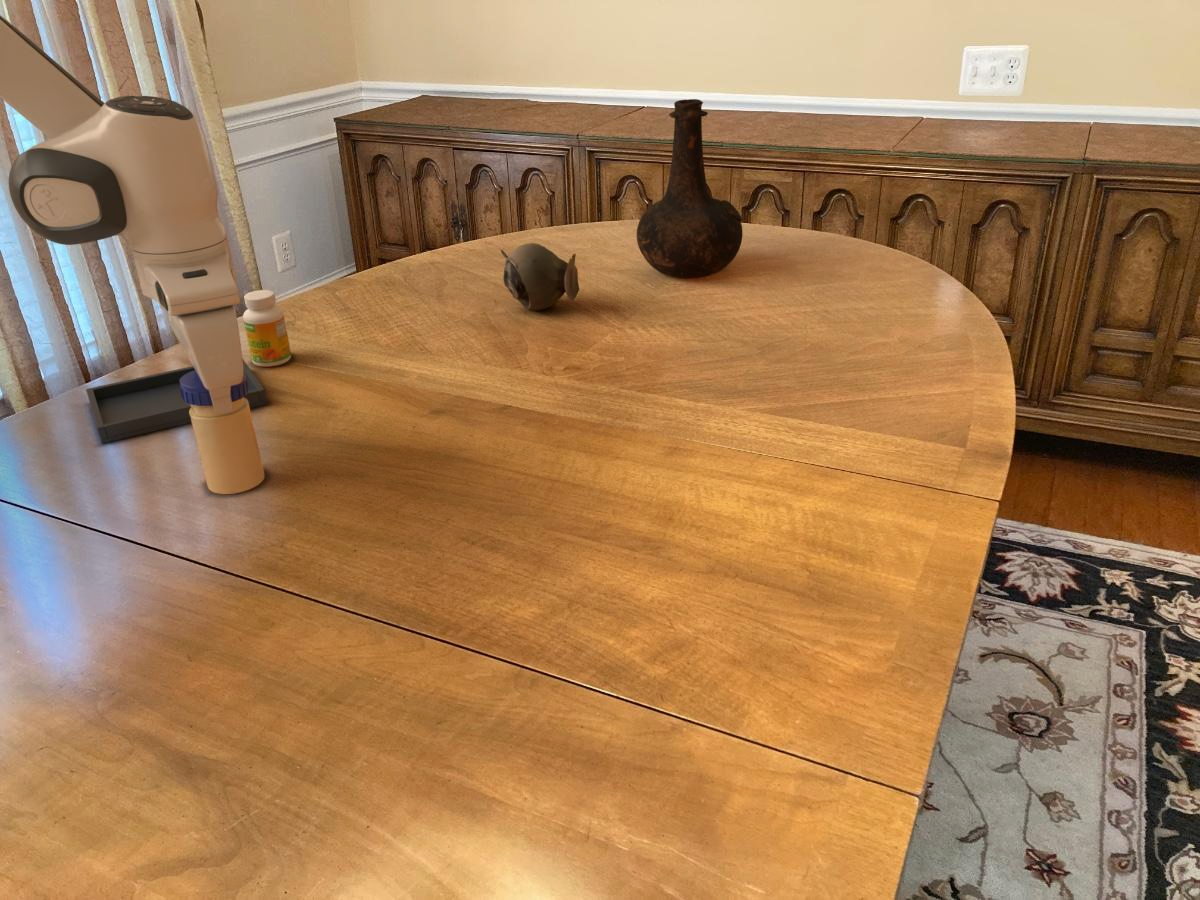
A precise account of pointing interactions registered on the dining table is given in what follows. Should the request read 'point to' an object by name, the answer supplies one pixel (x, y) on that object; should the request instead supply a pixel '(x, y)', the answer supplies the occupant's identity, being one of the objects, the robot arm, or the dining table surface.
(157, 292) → the robot arm
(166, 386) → the tray
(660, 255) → the glass bottle
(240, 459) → the jar
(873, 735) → the dining table surface
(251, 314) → the supplement bottle
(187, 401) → the lid
